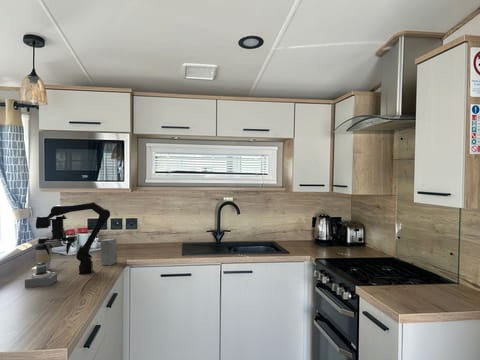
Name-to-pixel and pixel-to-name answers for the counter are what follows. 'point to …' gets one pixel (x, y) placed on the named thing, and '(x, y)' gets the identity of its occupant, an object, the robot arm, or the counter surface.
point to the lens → (41, 268)
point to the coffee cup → (43, 255)
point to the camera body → (41, 279)
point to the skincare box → (108, 251)
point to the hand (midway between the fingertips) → (58, 254)
